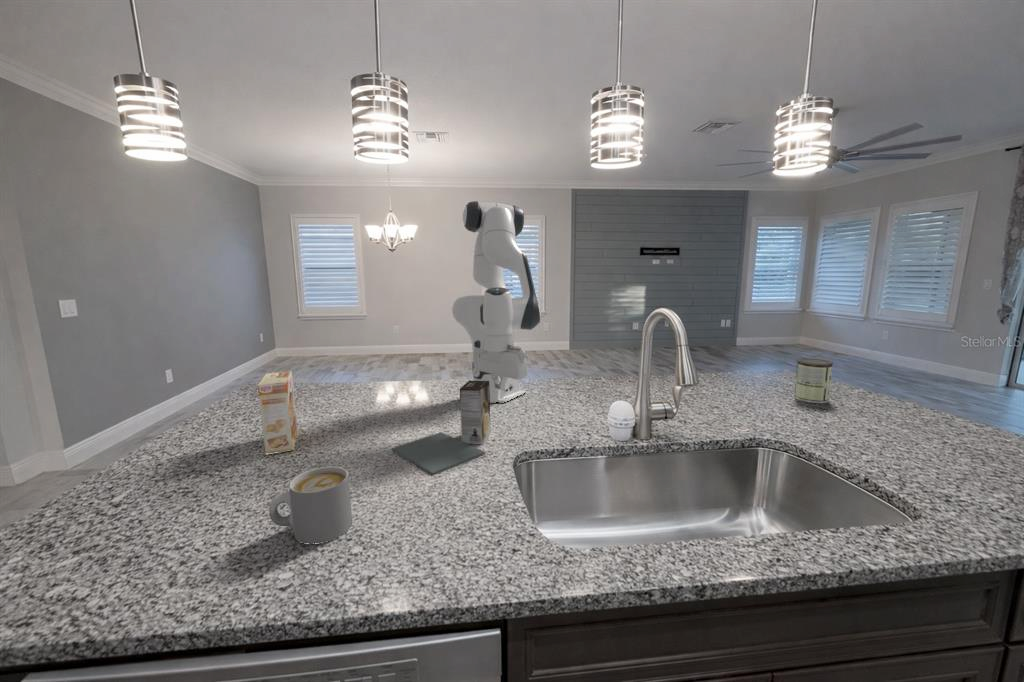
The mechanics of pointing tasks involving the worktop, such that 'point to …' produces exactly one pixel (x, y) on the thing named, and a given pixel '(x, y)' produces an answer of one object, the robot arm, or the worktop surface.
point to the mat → (437, 452)
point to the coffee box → (475, 412)
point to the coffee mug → (316, 505)
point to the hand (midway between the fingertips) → (499, 389)
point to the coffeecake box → (278, 412)
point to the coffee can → (813, 380)
